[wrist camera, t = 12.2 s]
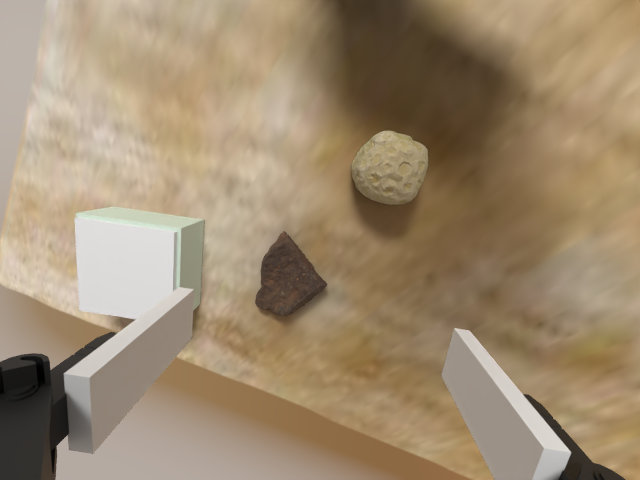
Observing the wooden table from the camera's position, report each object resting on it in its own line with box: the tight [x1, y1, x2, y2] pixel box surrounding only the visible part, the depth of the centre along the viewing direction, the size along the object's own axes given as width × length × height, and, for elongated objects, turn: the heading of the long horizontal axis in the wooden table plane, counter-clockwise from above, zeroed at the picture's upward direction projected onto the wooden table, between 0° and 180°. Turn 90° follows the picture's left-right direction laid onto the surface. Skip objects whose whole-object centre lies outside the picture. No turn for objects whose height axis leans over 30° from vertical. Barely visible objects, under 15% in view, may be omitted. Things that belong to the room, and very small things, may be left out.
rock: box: [255, 231, 327, 316], centre depth 45 cm, size 11×10×4 cm
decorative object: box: [351, 130, 428, 205], centre depth 39 cm, size 9×10×10 cm
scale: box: [75, 207, 204, 320], centre depth 44 cm, size 15×14×8 cm
